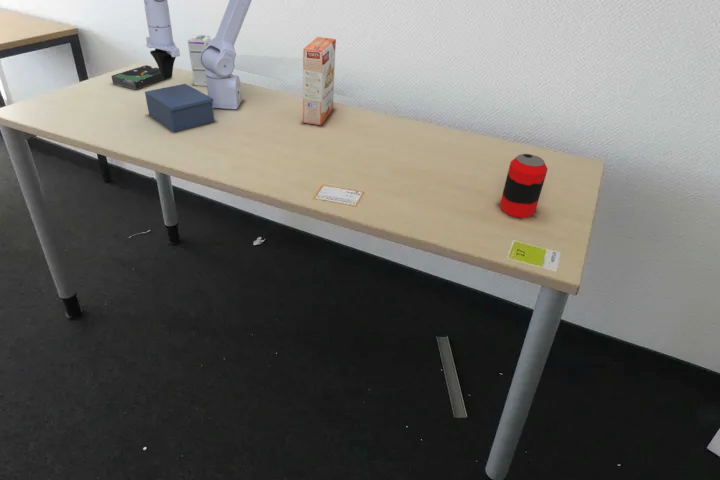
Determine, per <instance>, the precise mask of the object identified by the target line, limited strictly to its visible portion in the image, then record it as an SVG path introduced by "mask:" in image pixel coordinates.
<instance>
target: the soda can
mask: <svg viewBox="0 0 720 480" xmlns="http://www.w3.org/2000/svg"><path fill="white" fill-rule="evenodd" d="M547 173H548V167H547V165H546V162H545V160H544V159H543V158H542V157H540V156H538V155H534V154H530V153H521V154H518V155H517V156H516V157H514V158H513V159H512V160H511V161H510V162H509V166H508V171H507V175H506V179H505V183H504V187H503V190H502V195H501V199H500V203H499V207H500V209H501V210H502V211H503V212H504V213H505V214H506V215H508V216H511V217H514V218H519V219H527V218H530V217H532V216H533V215H535V213H536V210H537V206H538V204H539V200H540V196H541V194H542V190H543V187H544V184H545V183H544V182H545V180H546V176H547Z"/></svg>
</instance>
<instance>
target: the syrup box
mask: <svg viewBox="0 0 720 480" xmlns="http://www.w3.org/2000/svg"><path fill="white" fill-rule="evenodd" d="M211 40H212V39H211V36H210V35H203V34H202V35H201V34H198V35H192V36H191V37H190V38H189V39H187V45H188V46H187V47H188V54H189V59H190V65H191V73H192V78H193V79H192V80H193V84H194V86H201V87H207V81H206V70H205V67H203V66H202V64H201V61H200V55H201V53H202V51H203V50H204V49H205V48H206V47H207V45H208V43H209V41H211Z"/></svg>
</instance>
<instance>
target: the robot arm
mask: <svg viewBox="0 0 720 480" xmlns="http://www.w3.org/2000/svg"><path fill="white" fill-rule="evenodd" d="M252 1H253V0H229V1H228V3H227V6H226V9H225V11H224V14H223V15H222V19H221V21H220V24H219V27H218V29H217V32H216V34H215V36H214V37H213V38H212V39H211V41H209V43H208V45H207V47H206V48H205V49H204V50H203V51H202V53H201V55H200V61H201V64H202V66H203V67H205V70H206V81H207V86H206V88H207V96H209V97H211V98H213V102H212V106H213V109H224V110H237V109H238V108H239V107H240V105H241V103H242V101H243V98H242V89H241V88H242V87H241V79H240V76H239V75H235V74H233V72H234V70H235V59H236V57H237V52H236V49H235V45H236V41H237V39H238V36H239V34H240V31H241V29H242V27H243V24H244V21H245V19H246V16H247V13H248V11H249V8H250V7H251V3H252ZM143 5H144V12H145V19H146V23H147V24H146V25H147V30H148V35H149V36H146V37H145V39H146V40H145V41H146V45H145V46H146V48H148V49H154V50H150V51H149V53H150V55H151V56H152V57H153V59H154V61H155V63H156V65H157V68H159V70H160V72H161V75H162V77H163V78H164V79H165V80H167V79H172V78H173V72H174V71H173V70H174V65H175V62H176V61H175V60H176V58H178V57H181V54H180V53H181V52H180V48H179V47H177V45H176V43H175V42H174V36H173V29H172V23H171V15H170V9H169V2H168V0H143Z"/></svg>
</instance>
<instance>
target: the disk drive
mask: <svg viewBox="0 0 720 480" xmlns="http://www.w3.org/2000/svg"><path fill="white" fill-rule="evenodd" d="M165 80H166V79H164V78H163V77H162V75H161V72H160V70H159V67H152V66H151V65H148V64H145V65H142V66H140V67H139V66H138V67H135V68H133V69H129V70H126V71H122V72H119V73H116V74H113V75H111V81H112V84H115V85H117V86H122V87H125V88H129V89H132V90H139V89H141V88H145V87H148V86H151V85H153V84H156V83H159V82H162V81H165Z"/></svg>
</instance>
